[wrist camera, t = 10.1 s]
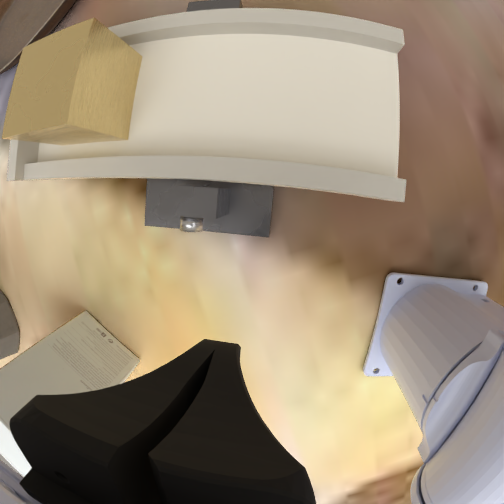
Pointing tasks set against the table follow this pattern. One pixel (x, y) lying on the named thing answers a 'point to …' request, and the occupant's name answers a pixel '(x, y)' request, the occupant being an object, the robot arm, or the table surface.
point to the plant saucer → (26, 25)
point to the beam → (250, 105)
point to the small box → (60, 373)
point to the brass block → (74, 88)
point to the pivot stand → (209, 192)
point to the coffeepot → (8, 329)
